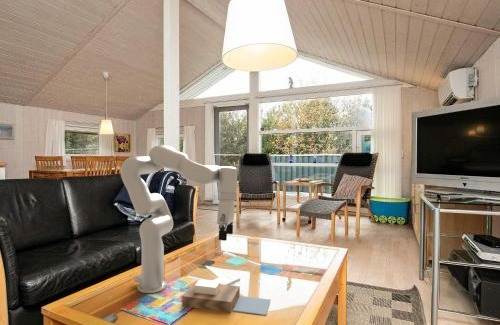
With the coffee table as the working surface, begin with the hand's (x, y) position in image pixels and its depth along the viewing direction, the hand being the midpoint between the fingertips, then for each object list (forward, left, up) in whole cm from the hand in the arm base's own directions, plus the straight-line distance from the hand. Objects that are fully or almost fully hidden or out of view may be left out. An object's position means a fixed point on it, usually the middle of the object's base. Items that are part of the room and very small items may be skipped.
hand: (225, 236), depth 124 cm
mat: (+12, -3, -26) cm, 29 cm away
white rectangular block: (-7, -3, -21) cm, 22 cm away
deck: (-5, -3, -26) cm, 27 cm away
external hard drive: (-5, +16, -27) cm, 32 cm away
